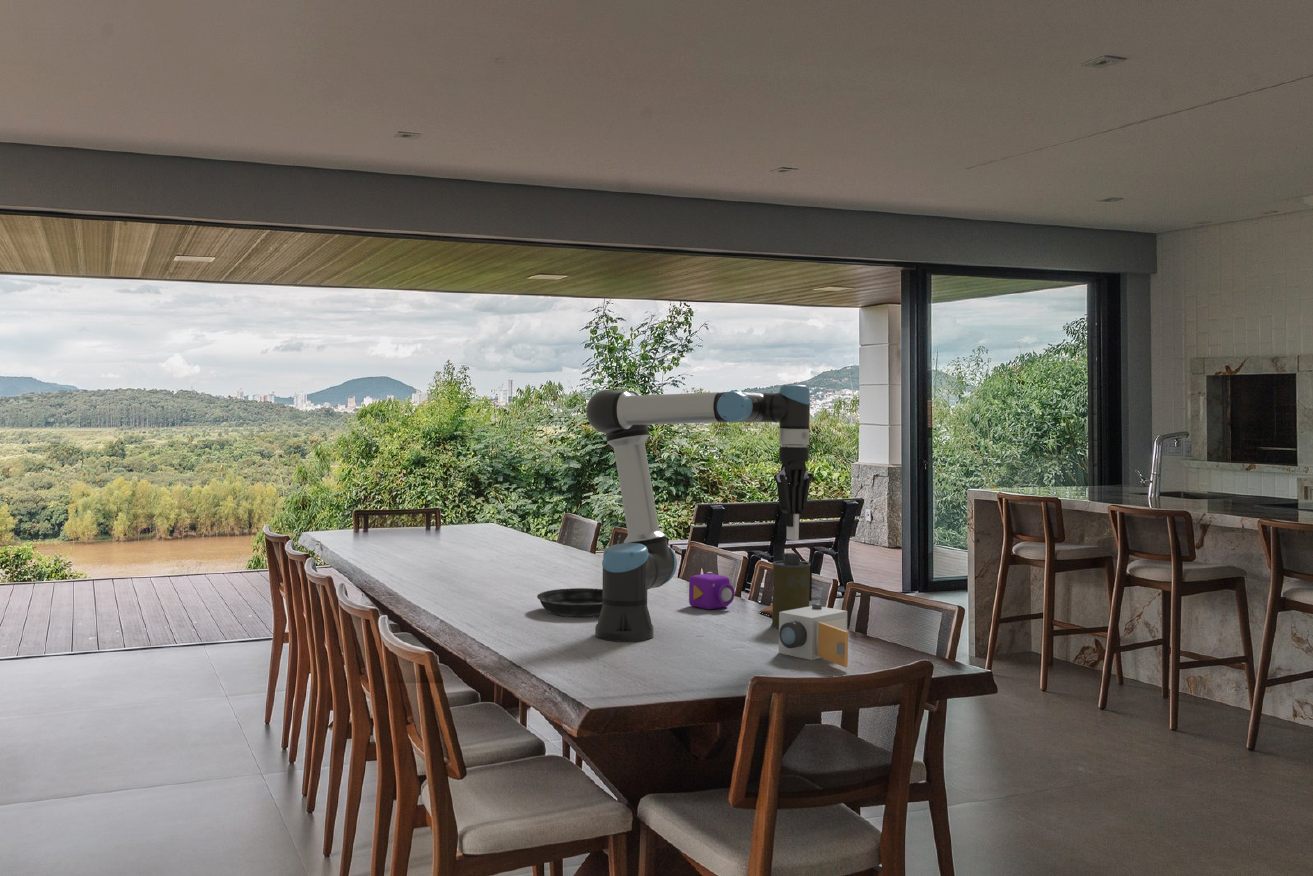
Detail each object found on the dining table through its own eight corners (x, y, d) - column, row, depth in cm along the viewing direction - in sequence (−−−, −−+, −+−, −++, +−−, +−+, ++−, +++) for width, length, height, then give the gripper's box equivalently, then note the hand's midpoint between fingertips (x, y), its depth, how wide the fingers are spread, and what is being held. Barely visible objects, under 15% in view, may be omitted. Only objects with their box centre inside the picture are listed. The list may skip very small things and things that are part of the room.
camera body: (803, 662, 249) (804, 615, 249) (769, 655, 257) (770, 609, 256) (847, 651, 262) (848, 607, 261) (813, 645, 269) (814, 601, 269)
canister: (780, 630, 286) (781, 556, 286) (765, 623, 296) (766, 551, 296) (817, 629, 289) (818, 555, 289) (801, 621, 299) (803, 550, 299)
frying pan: (577, 624, 292) (577, 599, 292) (519, 611, 309) (519, 588, 309) (684, 605, 324) (684, 583, 323) (625, 594, 341) (626, 573, 341)
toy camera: (722, 613, 311) (722, 579, 311) (684, 607, 319) (684, 574, 319) (742, 608, 319) (742, 574, 319) (704, 602, 328) (705, 570, 328)
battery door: (811, 655, 252) (812, 621, 252) (819, 655, 253) (819, 621, 253) (840, 667, 241) (841, 632, 241) (848, 666, 242) (848, 631, 241)
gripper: (789, 447, 262) (787, 542, 263) (821, 446, 271) (820, 539, 272) (766, 446, 267) (764, 540, 268) (798, 445, 276) (796, 536, 277)
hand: (792, 539), depth 270 cm, fingers closed
